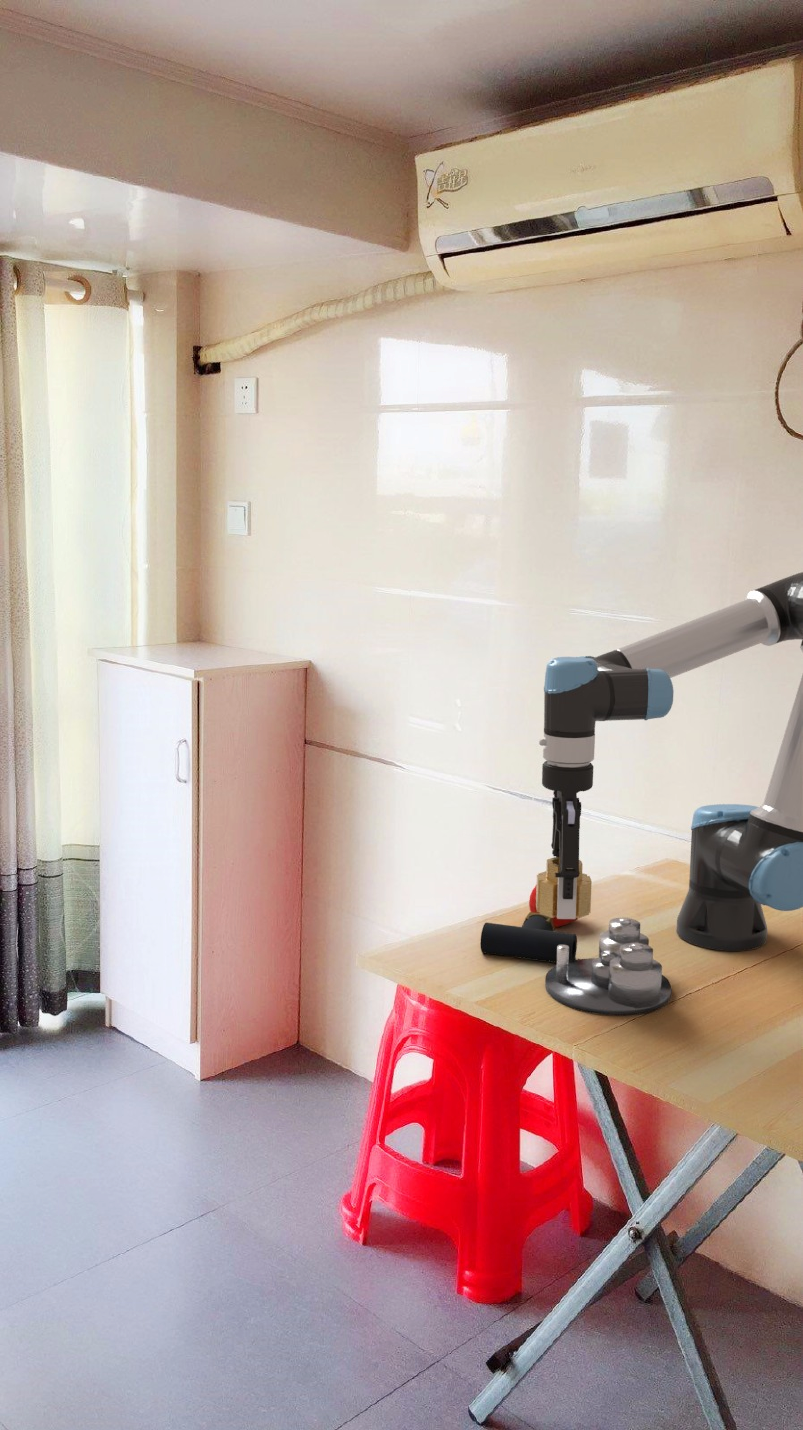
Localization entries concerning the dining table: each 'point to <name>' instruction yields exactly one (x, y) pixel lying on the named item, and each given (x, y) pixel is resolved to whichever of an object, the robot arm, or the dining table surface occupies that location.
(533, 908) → the tomato
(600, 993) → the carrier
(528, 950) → the pipe connector
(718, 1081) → the dining table surface
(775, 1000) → the dining table surface
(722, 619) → the robot arm
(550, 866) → the brass stepped collar
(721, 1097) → the dining table surface
